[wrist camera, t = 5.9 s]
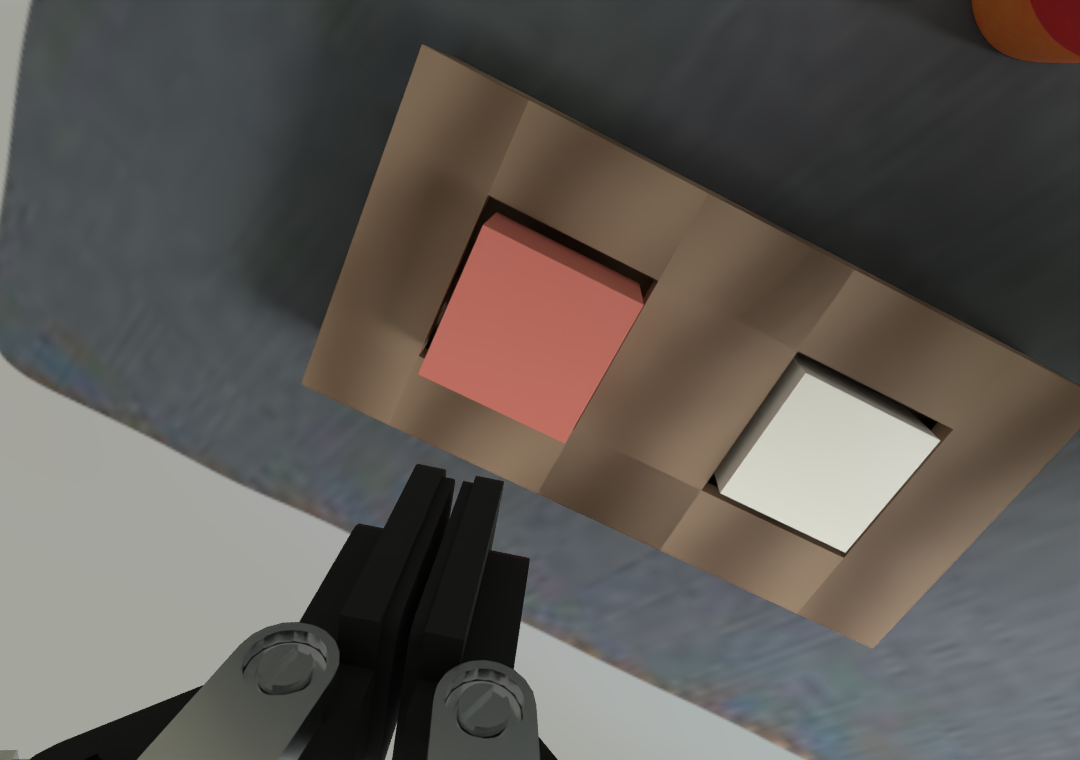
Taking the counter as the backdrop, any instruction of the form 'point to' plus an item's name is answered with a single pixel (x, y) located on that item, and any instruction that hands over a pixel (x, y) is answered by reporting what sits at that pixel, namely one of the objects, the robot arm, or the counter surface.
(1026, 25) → the coffee cup
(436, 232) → the panel
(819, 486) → the white key
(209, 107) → the counter surface
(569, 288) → the red key
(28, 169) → the counter surface
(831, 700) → the counter surface
